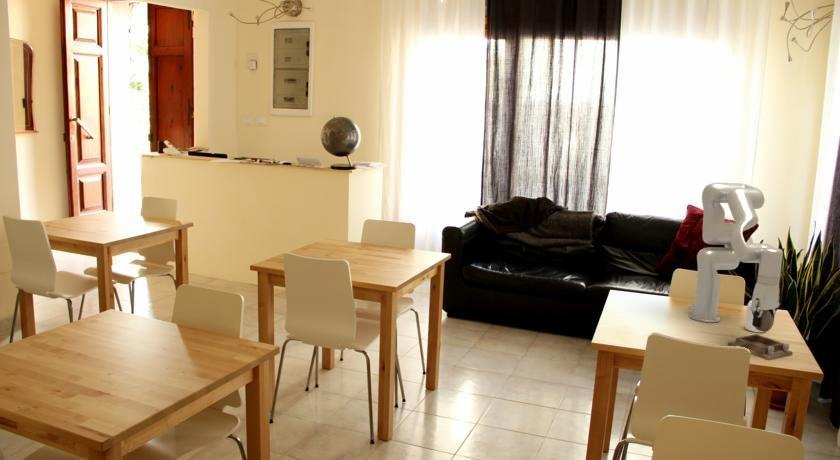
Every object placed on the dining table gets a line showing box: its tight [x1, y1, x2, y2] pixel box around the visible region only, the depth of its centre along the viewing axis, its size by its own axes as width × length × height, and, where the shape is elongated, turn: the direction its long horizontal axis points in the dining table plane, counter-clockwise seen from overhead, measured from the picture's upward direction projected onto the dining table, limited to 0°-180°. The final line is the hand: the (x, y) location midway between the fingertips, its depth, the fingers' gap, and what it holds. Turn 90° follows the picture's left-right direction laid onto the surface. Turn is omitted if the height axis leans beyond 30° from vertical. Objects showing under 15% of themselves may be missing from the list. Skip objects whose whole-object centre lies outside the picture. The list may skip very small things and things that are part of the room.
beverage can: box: [744, 299, 766, 334], centre depth 304 cm, size 8×8×12 cm
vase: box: [754, 310, 774, 332], centre depth 278 cm, size 7×7×9 cm
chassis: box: [726, 333, 794, 361], centre depth 280 cm, size 18×14×4 cm
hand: (762, 325), depth 278 cm, fingers closed on vase, 6 cm apart
